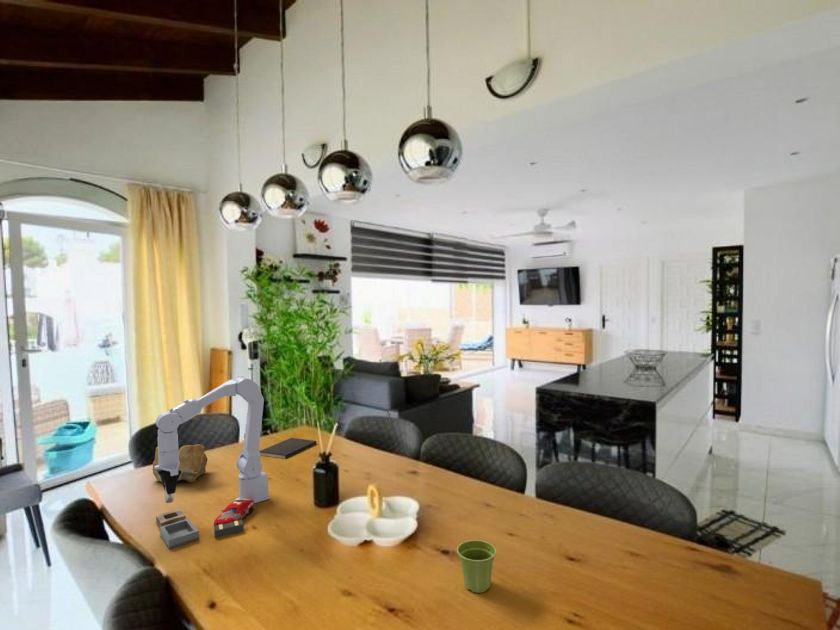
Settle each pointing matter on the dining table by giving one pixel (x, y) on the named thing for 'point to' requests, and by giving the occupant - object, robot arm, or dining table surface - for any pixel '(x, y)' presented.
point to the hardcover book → (287, 448)
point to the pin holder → (170, 517)
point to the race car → (235, 511)
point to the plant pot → (476, 564)
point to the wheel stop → (228, 528)
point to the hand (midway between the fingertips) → (169, 491)
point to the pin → (168, 497)
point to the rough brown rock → (187, 462)
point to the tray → (179, 533)
